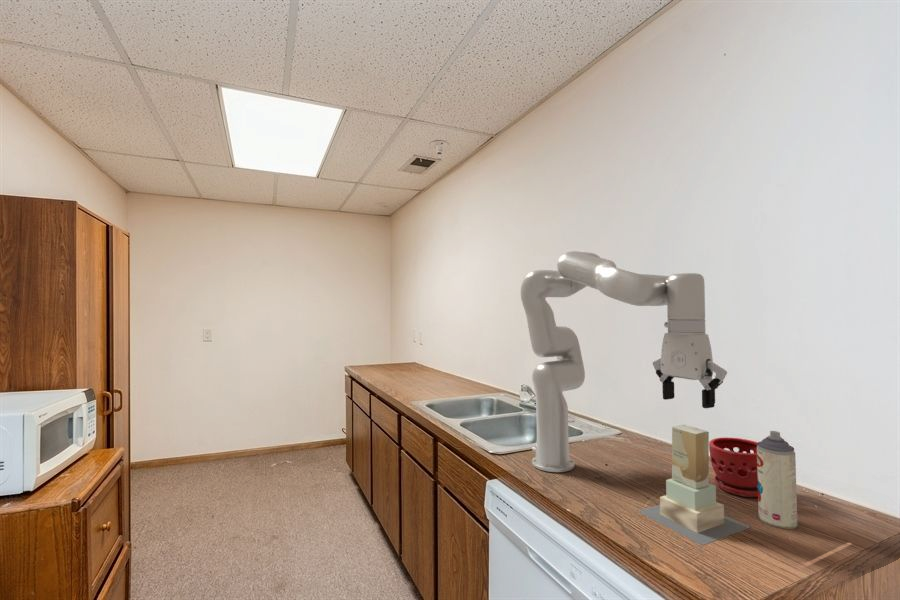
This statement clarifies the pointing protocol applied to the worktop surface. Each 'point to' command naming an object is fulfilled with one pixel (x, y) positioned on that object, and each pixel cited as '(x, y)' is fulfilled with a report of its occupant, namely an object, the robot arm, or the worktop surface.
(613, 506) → the worktop surface
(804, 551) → the worktop surface
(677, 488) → the top block
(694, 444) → the skincare box
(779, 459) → the aerosol can
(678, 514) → the base block
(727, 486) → the plant pot
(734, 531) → the mat
